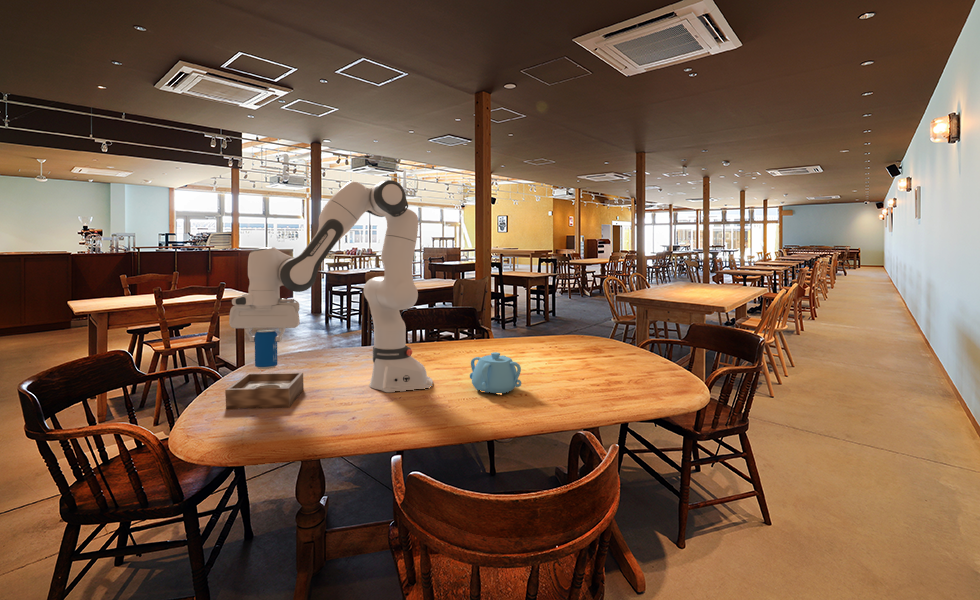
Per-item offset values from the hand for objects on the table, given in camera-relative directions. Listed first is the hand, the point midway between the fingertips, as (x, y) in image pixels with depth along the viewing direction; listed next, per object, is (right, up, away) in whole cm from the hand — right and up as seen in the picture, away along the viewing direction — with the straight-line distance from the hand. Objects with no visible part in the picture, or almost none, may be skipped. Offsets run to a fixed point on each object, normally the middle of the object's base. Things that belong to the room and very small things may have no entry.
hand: (265, 341), depth 147 cm
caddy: (0, -19, +2) cm, 19 cm away
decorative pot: (+73, -19, +17) cm, 77 cm away
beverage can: (0, -9, +1) cm, 9 cm away
